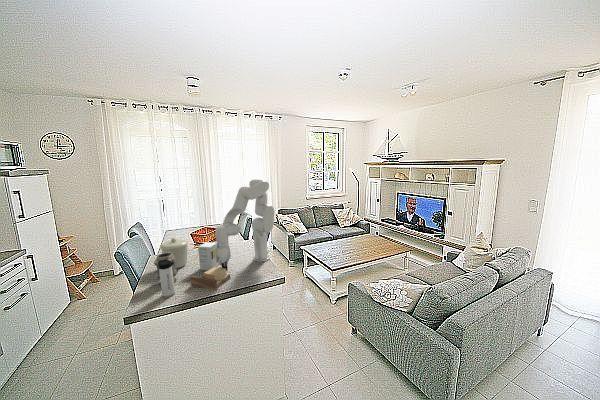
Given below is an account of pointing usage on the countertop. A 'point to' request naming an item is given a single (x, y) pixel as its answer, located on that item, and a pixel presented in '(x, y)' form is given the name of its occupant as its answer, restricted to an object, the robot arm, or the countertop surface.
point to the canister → (176, 250)
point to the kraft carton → (215, 273)
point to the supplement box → (207, 256)
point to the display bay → (207, 282)
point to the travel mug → (166, 278)
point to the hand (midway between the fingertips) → (224, 270)
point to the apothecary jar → (166, 257)
